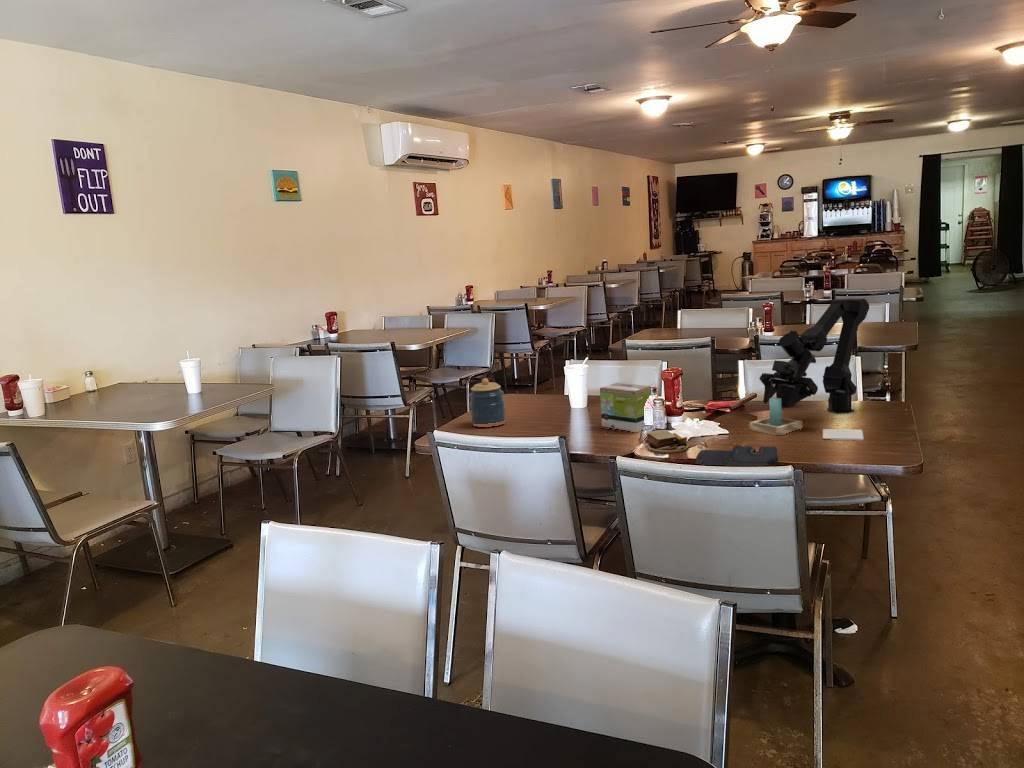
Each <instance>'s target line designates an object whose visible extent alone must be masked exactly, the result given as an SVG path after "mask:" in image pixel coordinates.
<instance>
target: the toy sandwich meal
mask: <svg viewBox="0 0 1024 768" xmlns="http://www.w3.org/2000/svg"><path fill="white" fill-rule="evenodd" d="M646 436H647V437H646V438H645V439H644V443H645V444H647V446H646V447H647V449H649V451H651V452H653V453H658V454H677V453H682V452H684V451H686V450H687V449H688V448H689V447H690V444H689V443H688V437H687V436H684V437H682V436H680V435H679V434H677V433H676V432H673V433H672V432H671V431H669V430H667V429H657V430H656V429H655V430H651V431H648V432H647V433H646Z"/></svg>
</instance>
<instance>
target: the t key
mask: <svg viewBox="0 0 1024 768" xmlns="http://www.w3.org/2000/svg"><path fill="white" fill-rule="evenodd" d="M768 403H769V417H770V423H767V425H773V426H778V427H779V426H782V418H783V417H782V416H783V415H782V414H783V413H782V411H783V410H782V408H783V407H782V406H781V398H777V397H772V398H770V399H769V401H768Z"/></svg>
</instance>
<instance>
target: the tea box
mask: <svg viewBox="0 0 1024 768" xmlns="http://www.w3.org/2000/svg"><path fill="white" fill-rule="evenodd" d="M599 395H600V416H601V427H602V426H606V427H612V428H618V429H624V430H630V431H638V430H640V429H642V428H644V427H645V423H644V406H645V403H646V401H647V399H648V398H649V396H650V395H652V386H651V385H644V384H642V385H641V384H632V383H624V382H623V383H622V382H614V383H612V384H609V385H605V386H602V387H599Z"/></svg>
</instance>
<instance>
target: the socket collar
mask: <svg viewBox="0 0 1024 768" xmlns="http://www.w3.org/2000/svg"><path fill="white" fill-rule="evenodd" d="M767 423H770V416H768V417H764V418H761V419H758V420H757V419H756V420H754V421H751V422H749V431H753V432H758V433H764V434H767V435H768V434H769V435H772V436H773V435H775V436H778V435H780V436H783V435H786V433H787V434H789V432H790V433H792V431H793V432H796V431H795V430H797V431H799V430H798V429H800V430H802V429H801V428H803V427H804V426H803V423H804V422H803V420H797V419H793V418H788V417H787V418H786V417H782V426H779V427H778V426H773V425H767Z"/></svg>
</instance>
